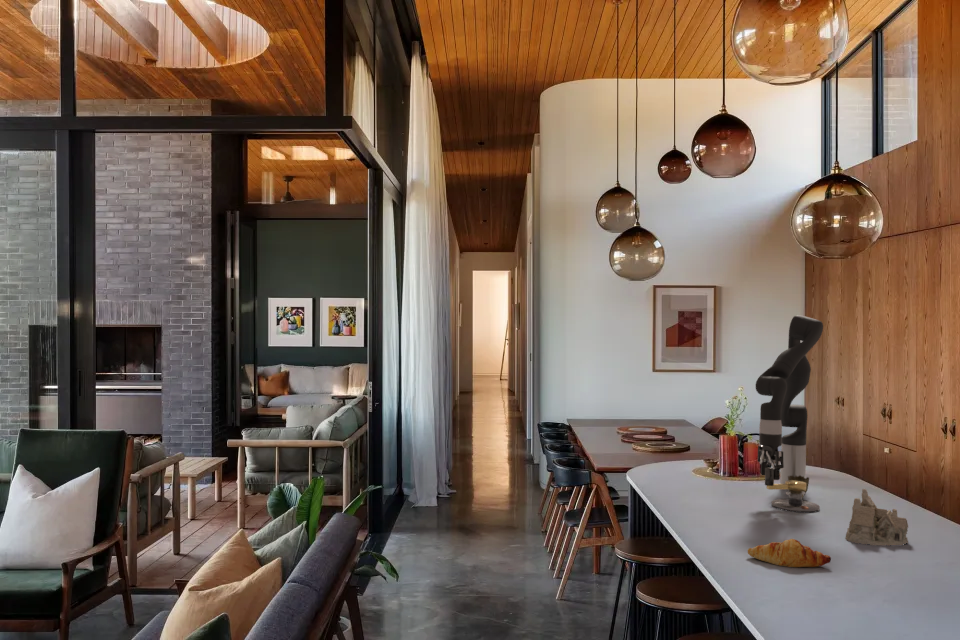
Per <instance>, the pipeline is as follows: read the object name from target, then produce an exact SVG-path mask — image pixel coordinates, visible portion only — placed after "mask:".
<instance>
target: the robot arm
mask: <svg viewBox="0 0 960 640" xmlns="http://www.w3.org/2000/svg"><path fill="white" fill-rule="evenodd" d="M823 329H824V324H823V322H822V321H821V320H819V319H815V318H812V317H809V316H805V315H802V314H796V315H794V316H793V317H792V319H791V320H790V323H789V328H788V340H787V341H788V348H787V349H786V350H784V351H782V352H781V353H780V354H779V355H778V356H777V357H776V359H775V361H774V362H773V364H772V365H771V366H770V367H769V368H767V369H766V370H765V371H764V372H763V373H761V375H760V376H758V378H757V380H756V382H755V390H756V393H757V394H759V395H760V396H767V397H771V400H769V402H763V403H761V404H760V418H759V419H760V421H759V426H758V427H759V429H758V430H759V434H758V435H759V436H758V437H759V438H758V439H759V440H758V444H759V445H758V446H757V461H756V462H757V463H759V464H760V475H761V476H765V468H766V467H768V464H771V468H773V480H774V481H779V480H780V482H779V484H785V481H788V478H789V477H790V475H791V476H792V475H793V476H794V477H795V476H796V475H797V477H798V476H799V475H801V476H802V477H803V476H804V479H806V478H807V476H806V475H807V474H806V471H807V470H806V467H807V466H806V465H807V461H806V460H807V459H806V458H807V431H808V430H807V426H808V409H807V407H806V406H805V405H803V404H792V403H793V401H794V400H795V398H796V397H797V396H798V395H799V394H800V393H802V391H804V390H805V389H806V387H807V386H808V385H809V382H810V377H811V370H812V369H811V368H812V367H811V364H810V362H809V359H808V357H807V356H806V355H807V354H808V353H809V352H810V351H811V349H812V348H814V347H815V345H816V344H818V341H819V340H820V338H821V337H822V334H823V332H824V330H823ZM783 427H784V428H796V430H795V431H793V432H791V433H789V434H783ZM779 447H781V450H779ZM788 476H789V477H788Z"/></svg>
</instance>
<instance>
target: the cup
mask: <svg viewBox="0 0 960 640" xmlns="http://www.w3.org/2000/svg"><path fill="white" fill-rule="evenodd" d="M788 477H789V476H788ZM788 481H801V482H805V483H806V491H804V492H805V494H806V493H807V491H808V489H809V484H810V483H809V482H810V477H809V476H806V479H804V476H803V477H802V476H801V475H799V476H798V477H797V475H796V476H795V477H794V476H793V475H792V476H791V475H790V477H789V478H788ZM804 496H805V495H802V499H804Z"/></svg>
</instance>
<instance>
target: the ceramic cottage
mask: <svg viewBox="0 0 960 640" xmlns="http://www.w3.org/2000/svg"><path fill="white" fill-rule="evenodd" d="M861 491H862V492H861V499H860V497H856V498H854V500H853V505H852V506H851V507H852V512H851V513H852V514H851V519H850V521H849V525H848V528H847V531H846V533H845V537H844V538H845V540H846V541H848V542H850V541H851V543H854V542H855V544H859V543H861V544H860V545H865V544H866V545H867V544H870V545H869V546H886V545H887V546H890V545H903V544H906V543H907V544H909V540H908V537H907V534H908V528H909V524H908V520H907V518H906V517H899V516H898V509H896V508H893V509H891V510H890V509H885V508H879V507H877V505H876V504H875V502H874V501H873V499H872V497H871V496H869V493H868V489H866V488H862V490H861ZM903 546H904V545H903Z"/></svg>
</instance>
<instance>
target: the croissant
mask: <svg viewBox="0 0 960 640" xmlns="http://www.w3.org/2000/svg"><path fill="white" fill-rule="evenodd" d="M747 554H748V555H749V557H752V558H753V559H757V560H759V561H762V562H765V563H769V564H771V565H772V564H773V565H776V566H780V567H789V568H817V567H818V568H819V567H823V566H825V565H827V564H830V563H831V559H832V557H831V556H830V555H829V554H824V553H823V552H820V551H818V550H813V549H812V548H811V547H809V546H807V545H804V544H802V543H801V542H800V541H799V540H797V539H794V538H790V539H785V540H784V541H782V542H780V541H779V542H778V541H776V542H775V541H772V542H769V543H768V544H761V545H760V544H758V545H757V546H754V547H752V548H751V547H749V548H748V549H747Z"/></svg>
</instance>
